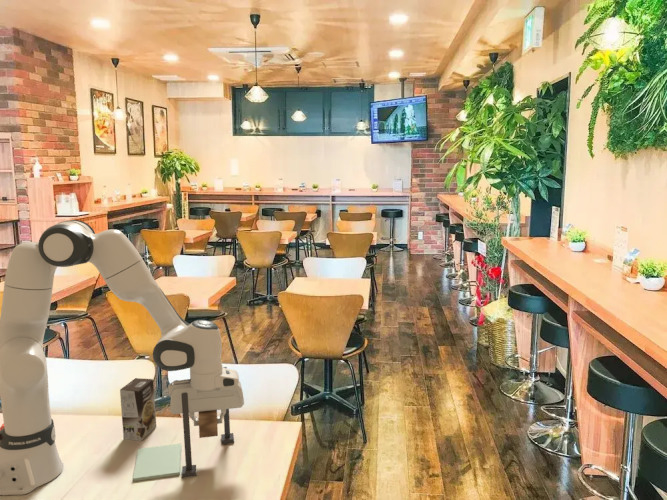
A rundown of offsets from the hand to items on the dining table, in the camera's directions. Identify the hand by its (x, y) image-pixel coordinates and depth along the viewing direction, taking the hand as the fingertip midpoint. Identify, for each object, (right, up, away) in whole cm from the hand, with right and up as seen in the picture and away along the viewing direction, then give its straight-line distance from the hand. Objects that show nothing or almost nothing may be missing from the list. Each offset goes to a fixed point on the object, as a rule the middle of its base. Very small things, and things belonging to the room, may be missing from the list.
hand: (208, 423), depth 158 cm
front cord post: (-4, -12, -6) cm, 13 cm away
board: (-14, -11, -1) cm, 17 cm away
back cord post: (+4, -8, +10) cm, 14 cm away
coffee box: (-24, -8, +15) cm, 30 cm away
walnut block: (0, -3, +1) cm, 3 cm away
